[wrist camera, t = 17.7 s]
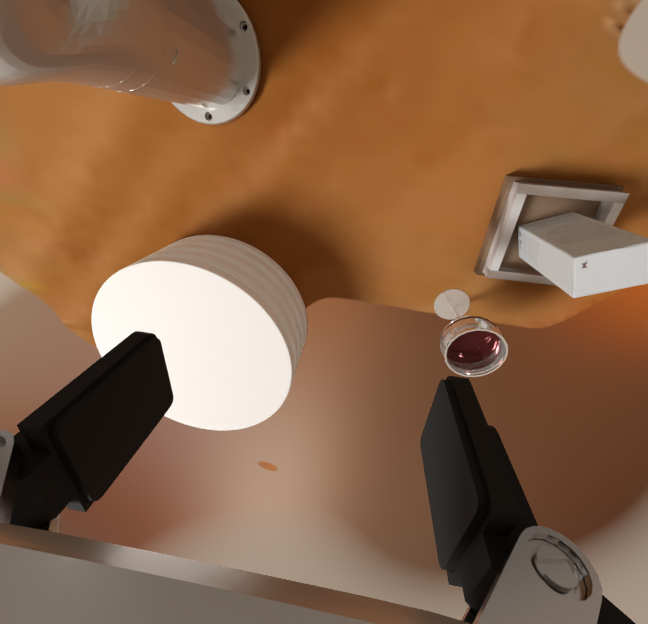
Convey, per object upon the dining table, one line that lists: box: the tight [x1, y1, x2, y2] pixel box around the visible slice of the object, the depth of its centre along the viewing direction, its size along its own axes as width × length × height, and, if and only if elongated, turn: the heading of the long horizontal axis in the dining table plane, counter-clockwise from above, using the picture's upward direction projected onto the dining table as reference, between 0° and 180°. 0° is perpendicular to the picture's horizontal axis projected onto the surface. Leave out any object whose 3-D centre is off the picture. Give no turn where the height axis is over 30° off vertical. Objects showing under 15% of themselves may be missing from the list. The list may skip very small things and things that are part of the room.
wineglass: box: [434, 289, 508, 377], centre depth 40 cm, size 7×7×12 cm
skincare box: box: [518, 212, 648, 298], centre depth 32 cm, size 6×4×12 cm
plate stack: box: [92, 235, 308, 430], centre depth 47 cm, size 28×28×12 cm
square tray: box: [474, 175, 629, 286], centre depth 37 cm, size 12×12×4 cm
